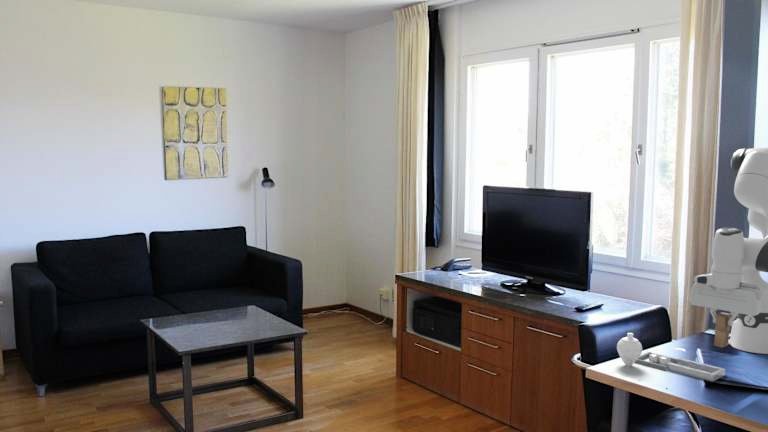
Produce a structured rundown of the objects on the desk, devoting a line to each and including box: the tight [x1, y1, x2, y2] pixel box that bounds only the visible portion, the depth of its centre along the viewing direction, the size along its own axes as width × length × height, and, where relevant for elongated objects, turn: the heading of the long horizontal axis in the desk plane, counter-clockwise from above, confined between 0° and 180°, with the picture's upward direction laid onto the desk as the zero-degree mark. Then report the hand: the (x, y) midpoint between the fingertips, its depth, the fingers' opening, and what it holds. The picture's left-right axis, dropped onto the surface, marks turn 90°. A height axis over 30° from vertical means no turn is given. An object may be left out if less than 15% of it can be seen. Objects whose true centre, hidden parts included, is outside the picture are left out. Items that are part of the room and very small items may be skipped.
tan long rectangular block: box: [713, 312, 731, 348], centre depth 212 cm, size 4×2×10 cm, turn 132°
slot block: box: [666, 357, 726, 383], centre depth 211 cm, size 9×14×4 cm, turn 42°
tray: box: [634, 351, 679, 371], centre depth 220 cm, size 11×11×3 cm
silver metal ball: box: [658, 355, 671, 366], centre depth 218 cm, size 3×3×3 cm
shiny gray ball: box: [648, 353, 661, 364], centre depth 221 cm, size 3×3×3 cm
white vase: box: [616, 332, 643, 367], centre depth 216 cm, size 8×8×12 cm
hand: (722, 324), depth 212 cm, fingers closed on tan long rectangular block, 2 cm apart
